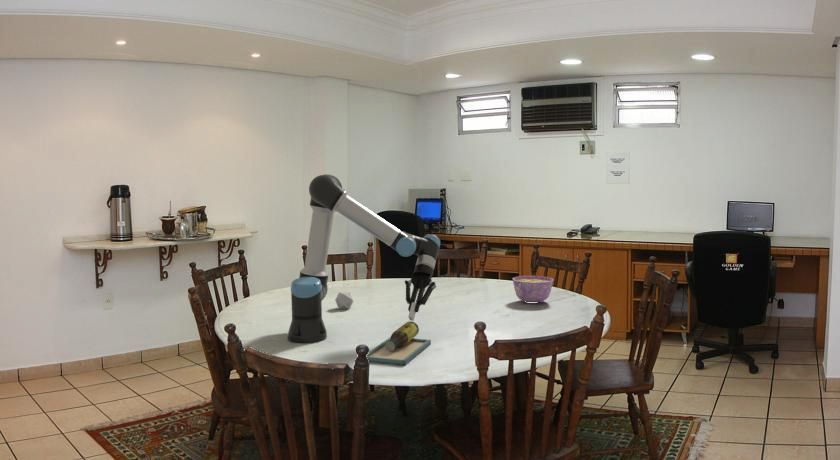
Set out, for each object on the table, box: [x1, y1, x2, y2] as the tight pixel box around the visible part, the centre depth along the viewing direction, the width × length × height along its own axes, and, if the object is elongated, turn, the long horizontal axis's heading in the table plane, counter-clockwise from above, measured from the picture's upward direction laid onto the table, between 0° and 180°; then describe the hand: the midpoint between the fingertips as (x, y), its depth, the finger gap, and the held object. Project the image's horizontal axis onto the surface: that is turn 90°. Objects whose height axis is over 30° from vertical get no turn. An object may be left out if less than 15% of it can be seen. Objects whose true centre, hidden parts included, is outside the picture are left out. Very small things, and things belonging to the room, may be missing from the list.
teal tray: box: [367, 336, 432, 367], centre depth 234 cm, size 28×16×2 cm, turn 161°
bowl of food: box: [512, 275, 554, 303], centre depth 320 cm, size 20×20×12 cm
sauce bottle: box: [385, 320, 420, 351], centre depth 240 cm, size 6×6×20 cm
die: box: [334, 291, 354, 310], centre depth 308 cm, size 8×9×10 cm
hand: (410, 318), depth 246 cm, fingers closed
